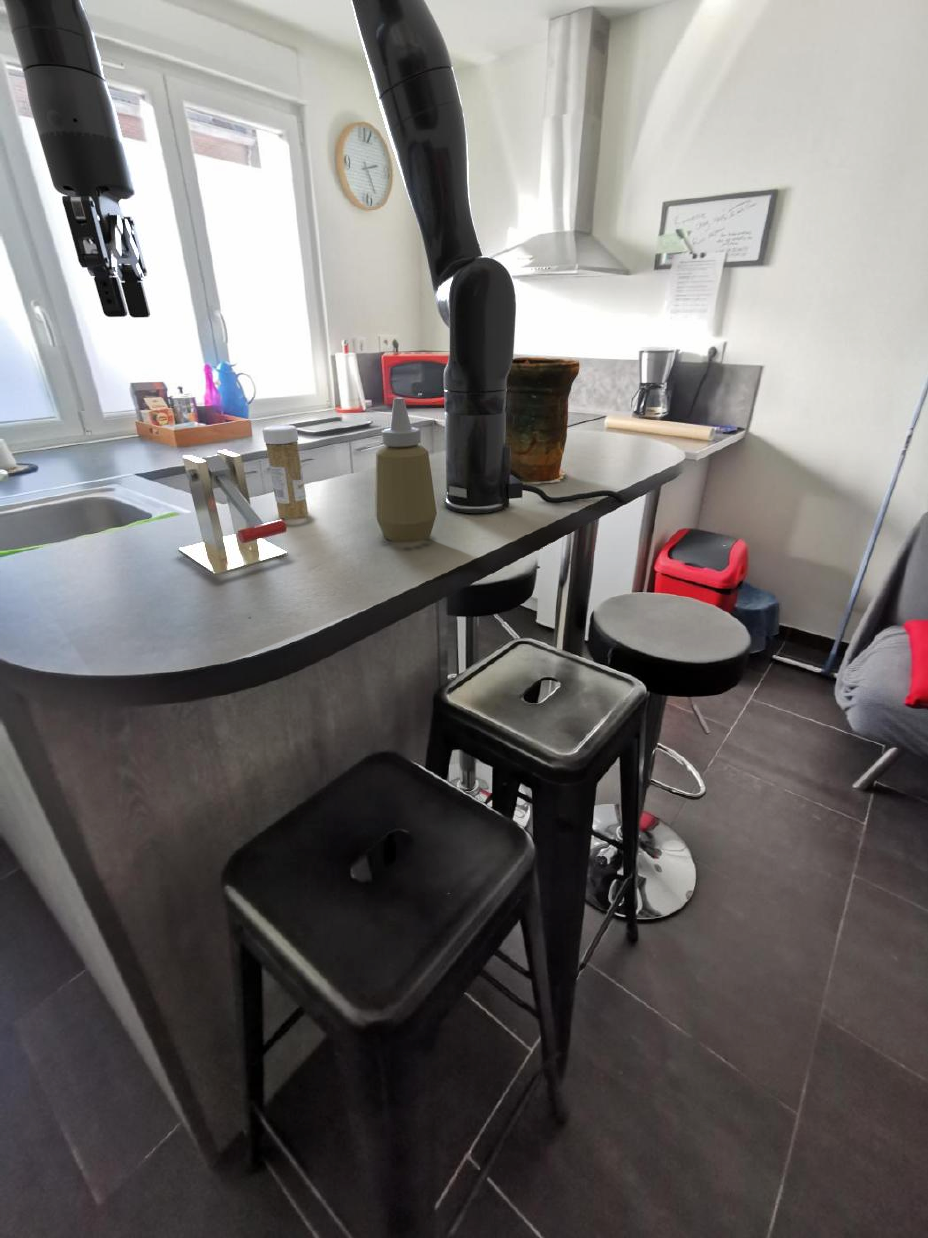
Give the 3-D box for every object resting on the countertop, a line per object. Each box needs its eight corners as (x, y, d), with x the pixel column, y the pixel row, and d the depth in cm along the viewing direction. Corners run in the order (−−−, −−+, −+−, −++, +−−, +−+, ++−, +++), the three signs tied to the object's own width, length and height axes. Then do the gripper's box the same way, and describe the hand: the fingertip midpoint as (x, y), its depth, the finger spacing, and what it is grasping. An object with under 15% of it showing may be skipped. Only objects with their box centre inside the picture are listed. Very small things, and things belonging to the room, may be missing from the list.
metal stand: (289, 562, 70) (271, 456, 64) (217, 583, 64) (190, 470, 58) (248, 540, 77) (229, 443, 71) (181, 558, 71) (153, 455, 65)
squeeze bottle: (390, 555, 71) (378, 404, 63) (369, 536, 77) (355, 396, 69) (447, 544, 74) (443, 399, 66) (423, 527, 81) (416, 392, 72)
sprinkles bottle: (314, 522, 83) (301, 427, 77) (283, 528, 81) (267, 430, 75) (303, 514, 87) (290, 422, 80) (274, 519, 84) (257, 426, 78)
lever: (286, 538, 63) (287, 521, 62) (243, 549, 60) (244, 532, 59) (230, 469, 68) (230, 452, 66) (188, 476, 65) (187, 459, 63)
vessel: (584, 482, 101) (595, 360, 92) (509, 489, 98) (512, 363, 89) (552, 465, 113) (559, 355, 104) (484, 470, 110) (485, 357, 101)
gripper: (95, 117, 52) (145, 316, 60) (142, 155, 65) (178, 316, 72) (5, 114, 51) (68, 317, 59) (70, 154, 63) (115, 318, 71)
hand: (129, 317), depth 65 cm, fingers open, 8 cm apart
